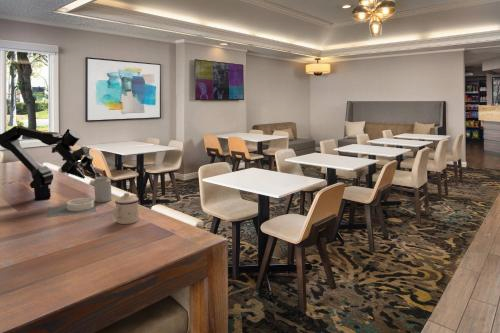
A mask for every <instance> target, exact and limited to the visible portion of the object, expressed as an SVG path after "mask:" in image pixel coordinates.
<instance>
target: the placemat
mask: <svg viewBox="0 0 500 333" xmlns="http://www.w3.org/2000/svg"><path fill="white" fill-rule="evenodd" d="M96 212H97V207H96V205H95V203H94V207H93V208H92V209H89V210H84V211H69V210H67V205H60V206H51V207H48V213H47V218H57V217H63V216H64V217H65V216H73V215H80V214H88V213H89V214H90V213H96Z"/></svg>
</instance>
